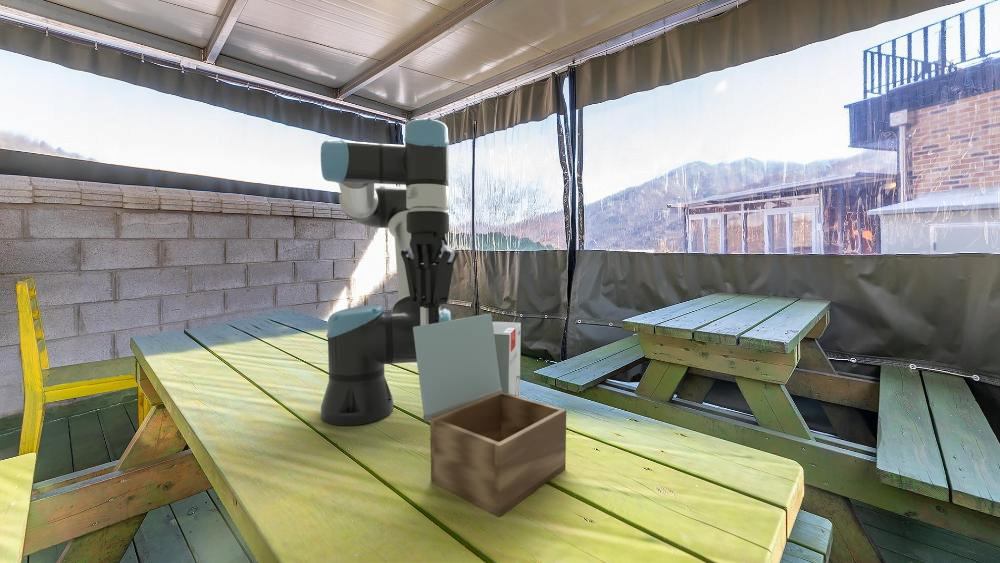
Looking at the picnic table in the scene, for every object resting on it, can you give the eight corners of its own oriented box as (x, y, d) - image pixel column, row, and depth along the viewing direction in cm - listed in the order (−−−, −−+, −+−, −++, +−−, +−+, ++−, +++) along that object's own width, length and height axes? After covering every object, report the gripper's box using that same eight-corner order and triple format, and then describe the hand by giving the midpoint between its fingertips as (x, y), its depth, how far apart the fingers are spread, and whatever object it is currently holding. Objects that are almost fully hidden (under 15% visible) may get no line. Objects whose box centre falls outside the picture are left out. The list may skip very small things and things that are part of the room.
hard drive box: (508, 436, 84) (508, 335, 83) (470, 433, 86) (470, 333, 84) (520, 407, 99) (521, 321, 98) (488, 405, 101) (488, 320, 99)
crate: (430, 481, 68) (430, 419, 67) (500, 443, 81) (500, 391, 80) (499, 517, 59) (499, 446, 58) (565, 468, 72) (566, 409, 71)
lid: (428, 422, 67) (423, 421, 68) (502, 392, 80) (497, 392, 81) (416, 326, 67) (411, 327, 68) (492, 313, 81) (487, 314, 82)
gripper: (388, 211, 79) (390, 340, 80) (436, 207, 70) (437, 351, 72) (420, 214, 84) (421, 334, 86) (468, 210, 76) (469, 343, 78)
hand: (429, 342), depth 79 cm, fingers closed
